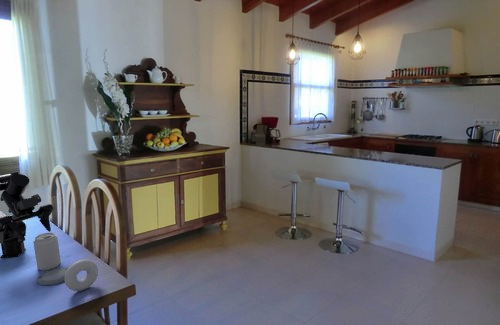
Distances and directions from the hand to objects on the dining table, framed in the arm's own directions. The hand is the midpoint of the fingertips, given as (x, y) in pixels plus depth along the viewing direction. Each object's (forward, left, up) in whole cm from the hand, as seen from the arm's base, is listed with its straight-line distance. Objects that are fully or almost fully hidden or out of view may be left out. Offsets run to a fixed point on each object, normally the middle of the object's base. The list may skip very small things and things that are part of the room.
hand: (37, 235), depth 125 cm
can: (+3, -3, -11) cm, 12 cm away
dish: (+8, -12, -11) cm, 18 cm away
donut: (+20, -21, -11) cm, 32 cm away
